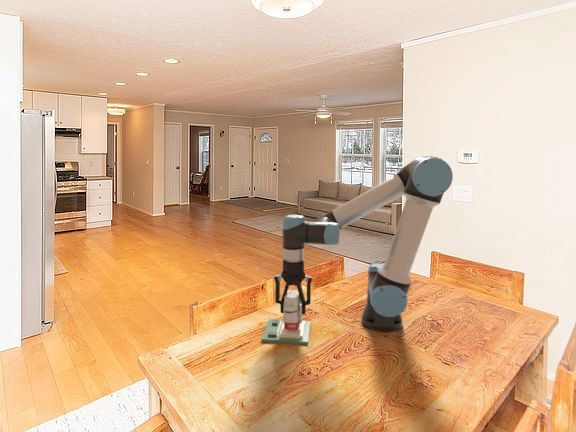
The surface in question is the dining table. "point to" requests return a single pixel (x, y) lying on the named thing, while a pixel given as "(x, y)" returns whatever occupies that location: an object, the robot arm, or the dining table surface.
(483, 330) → the dining table surface
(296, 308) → the ink box
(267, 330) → the board
